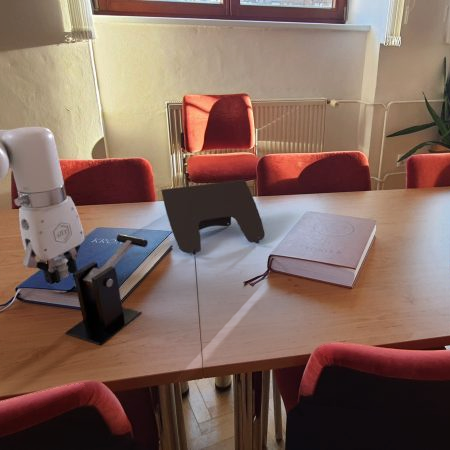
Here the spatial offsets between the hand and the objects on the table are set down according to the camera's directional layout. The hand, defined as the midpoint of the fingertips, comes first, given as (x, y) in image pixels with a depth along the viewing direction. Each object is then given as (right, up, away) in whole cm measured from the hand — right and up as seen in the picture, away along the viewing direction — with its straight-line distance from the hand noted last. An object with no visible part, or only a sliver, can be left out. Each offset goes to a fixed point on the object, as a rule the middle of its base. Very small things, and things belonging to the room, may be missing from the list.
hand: (63, 280), depth 89 cm
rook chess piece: (0, -3, +1) cm, 3 cm away
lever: (+15, +4, -9) cm, 18 cm away
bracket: (+13, -7, -9) cm, 17 cm away
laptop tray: (+26, +8, +26) cm, 38 cm away
